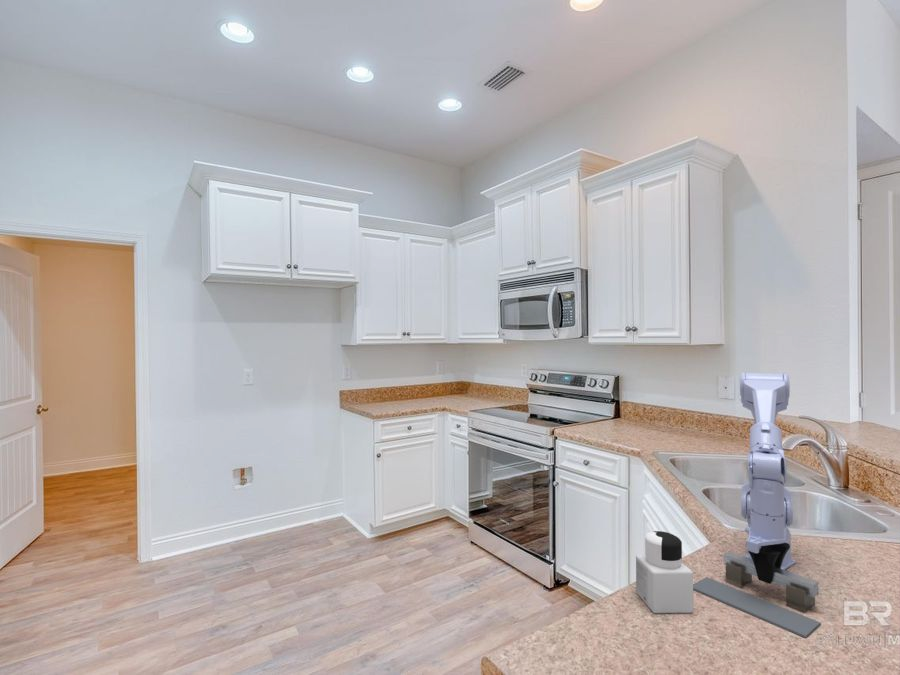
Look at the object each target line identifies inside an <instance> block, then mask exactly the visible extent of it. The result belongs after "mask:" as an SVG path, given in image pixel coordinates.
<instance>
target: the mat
mask: <svg viewBox="0 0 900 675" xmlns="http://www.w3.org/2000/svg"><path fill="white" fill-rule="evenodd" d="M693 591H695V592H697V593H700V594H702V595H704V596H707V597H709V598H711V599H714V600H715V601H718V602H721V603H722V604H725V605H728V606H730V607H732V608H735V609H737V610H739V611H741V612H743V613H746V614H748V615H750V616H753V617H756V618H758V619H760V620H762V621H765V622H767V623H769V624H771V625H774V626H776V627H779V628H781V629H783V630H786V631H788V632H790V633H792V634H794V635H797V636H799V637H801V638H804V639H807V638H808V637H809V636H810V635H812V634H813V633H814V632H815V631H816V630H817V629H818V628H819V627H820V626H822V625H821V624H822V623H821V622H820V621H818V620H816V619H813V618H811V617H808V616H805V615H804V614H801V613H798V612H796V611H793V610H790V609H788V608H786V607H783V606H780V605H778V604H776V603H773V602H770V601H768V600H766V599H763V598H760V597H757V596H755V595H753V594H750V593H748V592H746V591H743V590H741V589H737V588H736V587H733V586H730V585H728V584H725V583H722V582H720V581H718V580H715V579H713V578H710V577H708V576H706V577H703V578H702V579H700V580H698V581H696V582H693Z"/></svg>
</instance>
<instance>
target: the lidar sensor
mask: <svg viewBox="0 0 900 675" xmlns="http://www.w3.org/2000/svg"><path fill="white" fill-rule="evenodd" d="M682 543H683V542H682V540H681V539H680V537H678V536H677V535H675V534H672V533H671V532H667V531H662V530H661V531H659V530H658V531H657V530H655V531H650V532H647V533H646V534H645V536H644V554H636V555H635V592H636V594H637V595H638V596H639V597H640V599H641V600H642V601H643V602H644V604H646V606H647V607H648V608H649V609H650V611H651V612H653V614H691V613H694V590H693V584H694V572H693V571H692V570H691V569H690V568H689V567H688V566H686V565H685V564H684V563H683V548H682V547H683V544H682Z"/></svg>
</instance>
